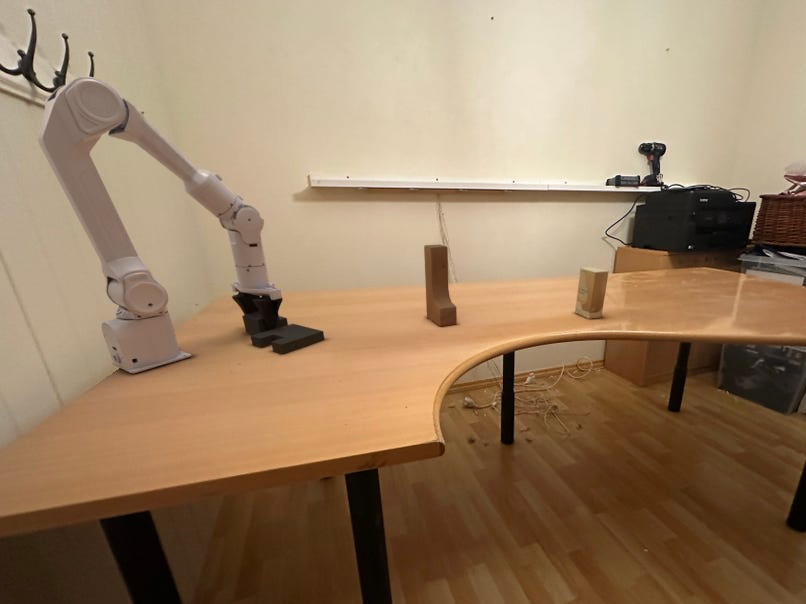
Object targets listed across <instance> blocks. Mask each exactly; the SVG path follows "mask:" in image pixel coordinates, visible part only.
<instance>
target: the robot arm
mask: <svg viewBox="0 0 806 604" xmlns="http://www.w3.org/2000/svg"><path fill="white" fill-rule="evenodd" d="M38 131H39V132H38V136H37V141H38V144H39V146H40V149H41V150H42V152H43V155H44V156H45V158H46V160H47V162H48V163H49V165H50V168H51V169H52V171H53V173H54V175H55V177H56V179H57V181H58V183H59V185H60V187H61V188H62V190H63V192H64V194H65V196H66V198H67V200H68V201H69V204H70V205H71V208H72V209H73V211H74V213H75V215H76V217H77V218H78V221H79V222H80V224H81V226H82V228H83V230H84V232H85V234H86V235H87V237H88V240H89V241H90V244H91V245H92V247H93V249H94V251H95V253H96V255H97V256H98V259H99V260H100V263H101V272H102V274H103V275H104V278H105V282H106V284H105V293H106V296H107V298H108V299H109V300H110V301H111V302H112V303H113V304H115V305H116V306H118V307H117V310H116V312H115V316H116V317H115V318H113V319H110V320H106V321H103V322H102V323H101V331H102V334H103V338H104V341H105V344H106V346H107V348H108V352H109V354H110V358H111V361H112V362H111V363H112V365H113V366H114V367H117V368H119V369H122V370H123V371H126V372H128V373H129V374H136V373H140V372H143V371H147V370H151V369H153V368H157V367H160V366H164V365H167V364H171V363H174V362H177V361H181V360H185V359H187V358H191V357H192V354H191V353H189V352H186V351H184V350H180V347H179V342H178V338H177V336H176V333H175V329H174V326H173V323H172V322H173V321H172V319H171V315H170V311H169V309H168V307H167V306H168V303H169V293H168V291H167V289H166V287H164V286H163V285H162V284H161V283H160V282H158V281H157V280H156V279H155V278H154V276H153V274H152V272H151V271H150V269H149V268H148V267H147V265H146V264H145V263H144V261H143V260H142V259H141V258H140V257H139V254H138V253H137V250H136V248H135V246H134V244H133V241H132V240H131V238H130V235H129V234H128V231H127V230H126V227H125V225H124V223H123V221H122V219H121V216H120V215H119V213H118V210H117V208H116V206H115V204H114V202H113V200H112V198H111V196H110V194H109V192H108V190H107V188H106V186H105V184H104V181H103V179H102V177H101V175H100V173H99V171H98V169H97V167H96V165H95V163H94V160H93V158H92V156H91V154H90V153H91V151H92V150H93V148H95V146H96V145H97V143H98V142H99V140H100V139H101V138H102V136H103V135H104V134H106V133H107V136H108V137H111V138H115V139H119V140H122V141H126V142H130V143H133V144H135V145H137V146H138V147H139V148H141V149H142V150H143V151H145V153H147V154H149V155H150V156H151V157H152V158H154V159H155V160H156V161H157V162H159V164H161V165H162V166H164V167H165V168H166V169H167V170H169V171H170V172H171V173H173V175H175V176H176V177H178V178H179V179H180V180H181V181H182V182H183V184H184V188H185V192H186V194H188V195H189V196H190V197H192V199H194V200H195V201H196V202H197V203H199V204H200V205H201V206H202V207H204V208H205V209H206V210H207V211H208V212H209V213H211V214H212V215H213V216H214V217H216V218H217V219H218V222H219V225H220V226H221V227H222V228H223V229H224V230H227V234H228V239H229V244H230V248H231V253H232V258H233V262H234V267H235V271H236V276H237V281H235V282H230V285H231V289H232V292H233V293H237V292H238V293H237V294H234V295H232V296H231V297H232V300H233V301H234V302H235V303H236V304H237V305H238V306H239V308H240V310H241V311H242V313H243V315H246V314H250V313H254V312H257V311H259V312H260V314H261V317H262V320H263V323H264V325H265V328H266V330H272V329H275V328H276V327H277V317H278V314H279V311H280V307H281V304H282V302H283V301H284V298H283V296H282V290H281V288H277V287H275V282H270V278H269V273H268V268H267V262H266V257H265V252H264V247H263V242H262V235H261V233H262V231H263V229H264V226H265V219H264V218H262V217H261V214H260V212H259V210H258V209H256V208H255V207H253V206H252V205H249V204H244V197H242V196H241V195H239V194H237V195H236V194H235V193H234V192H233V191H232V190H231V189H230V188H229V187H228V186H227V185H226V184H225V183H223V182H222V181H223V177H222V176H220V175H219V173H213V172H211V171H210V170H208V169H199V168H197V167H196V166H195V165H194V164H193V163H192V162H191V161H190V160H189V159H188V157H186V156H185V155H184V154H183V153H182V152H181V151H180V150H179V149H178V148H176V146H175V145H174V144H173V143H171V142H170V141H169V139H167V137H165V136H164V135H163V133H161V132H160V131H159V130H158V129H157V128H156V127H155V126H154V125H153V124H152V123H151V122H150V121H149V120H148V119H147V118H146V117H145V116H144V115H143V114H142V113H141V112H140V111H139V110H138V108H137V107H136V105H134V104H133V103H131V102H130V101H129V100H128V99H126V98H125V97H123V98H122V96H121V95H120V94H119V92H118V91H116V89H115V88H113V87H112V85H110V84H108V83H107V82H105V81H104V80H101V79H99V78H97V77H94V76H93V77H92V76H88V75H81V76H77V77H75V78H73V79H71V80H70V81H69V82H68V83H67V84H63V85H60V86H59V87H57V88H56V89H55V90H54V91H53V92H52V93H51V94H49V96H48V97H47V98H46V99H45V100H44V111H43V115H42V119H41V123H40V127H39V130H38Z"/></svg>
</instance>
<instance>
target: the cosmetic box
mask: <svg viewBox="0 0 806 604" xmlns="http://www.w3.org/2000/svg"><path fill="white" fill-rule="evenodd" d="M608 277H609V271H608V270H607V269H602V268H598V267H594V266H587V267H581V268H580V271H579V277H578V287H577V294H576V302H575V309H574V313H575V314H577V315H579V316H582V317H584V318H586V319H588V320H591V319H598V318H602V316H603V309H604V303H605V298H606V297H605V296H606V290H607V284H608Z"/></svg>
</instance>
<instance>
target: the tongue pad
mask: <svg viewBox="0 0 806 604" xmlns="http://www.w3.org/2000/svg"><path fill="white" fill-rule="evenodd" d="M241 317H242V321H243V325H244V330H245V333H246V334H249V335H255V334H258V333H262V332H265V331H269V330H266V328H265V325H264V323H263V320H262V317H261V314H260V312H259V311H257V312H254V313H250V314H246V315H244V314H243V315H241ZM287 325H289V323H288V317H285V316H282V315H279V313H278V317H277V327H276V328H280V327H283V326H287ZM276 328H275V329H276ZM272 330H273V329H272Z"/></svg>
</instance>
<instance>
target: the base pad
mask: <svg viewBox="0 0 806 604" xmlns="http://www.w3.org/2000/svg"><path fill="white" fill-rule="evenodd" d="M250 340H251V344H252V346H255V347H259V348H266V347H268V346H271V348H272V351H273V352H274V353H278V354H281V355H284V354H287V353H291V352H293V351H296V350H299V349H302V348H305V347H309V346H312V345H313V344H316V343H319V342H322V341H324V340H325V333H324V330H321V329H316V328H313V327H309V326H305V325H302V324H301V325H300V324H297V323H290V324H288V325H287V326H283V327H280V328H276V329H273V330H269V331H265V332H262V333H258V334H255V335H252V334H250Z"/></svg>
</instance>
